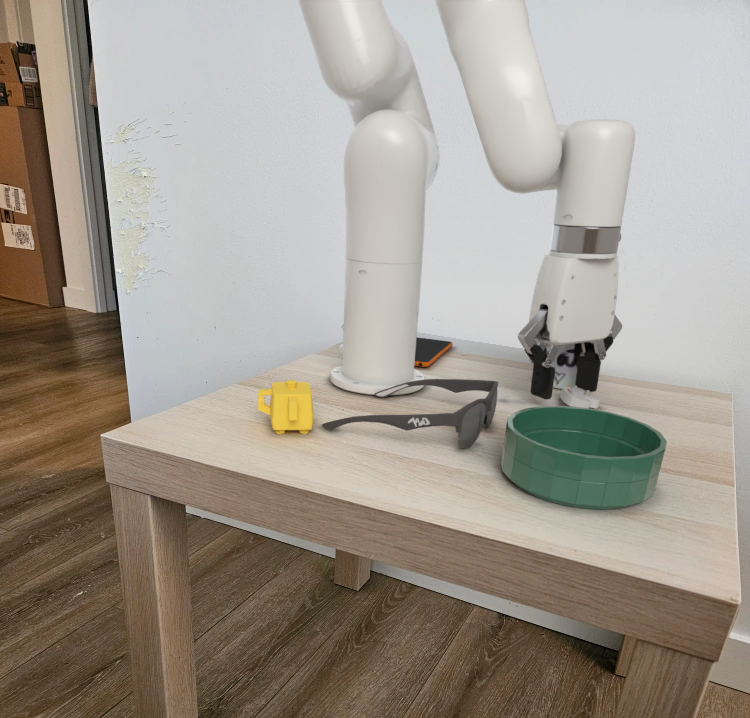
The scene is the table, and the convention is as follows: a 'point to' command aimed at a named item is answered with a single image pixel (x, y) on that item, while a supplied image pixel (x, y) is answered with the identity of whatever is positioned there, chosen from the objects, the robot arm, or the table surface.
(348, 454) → the table surface
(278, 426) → the teapot
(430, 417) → the sunglasses
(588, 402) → the game controller
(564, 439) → the bowl
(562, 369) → the mug
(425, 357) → the smartphone
